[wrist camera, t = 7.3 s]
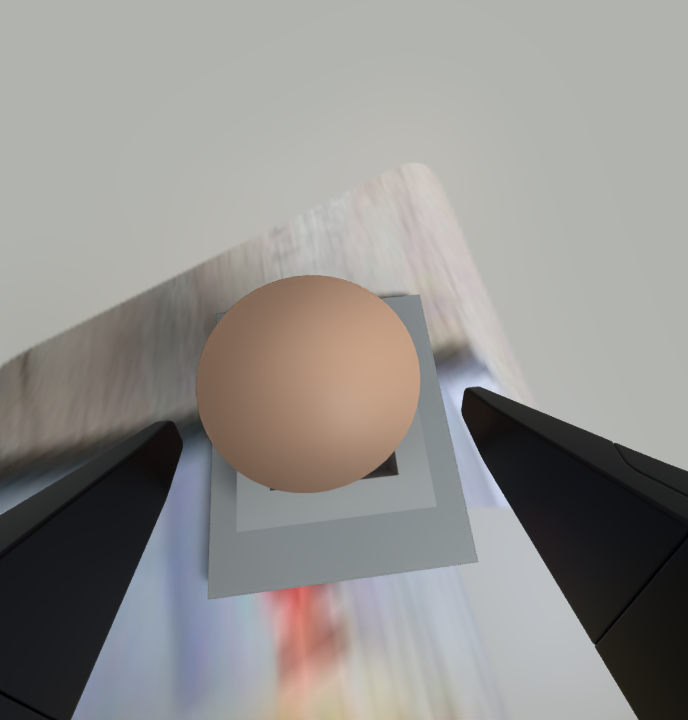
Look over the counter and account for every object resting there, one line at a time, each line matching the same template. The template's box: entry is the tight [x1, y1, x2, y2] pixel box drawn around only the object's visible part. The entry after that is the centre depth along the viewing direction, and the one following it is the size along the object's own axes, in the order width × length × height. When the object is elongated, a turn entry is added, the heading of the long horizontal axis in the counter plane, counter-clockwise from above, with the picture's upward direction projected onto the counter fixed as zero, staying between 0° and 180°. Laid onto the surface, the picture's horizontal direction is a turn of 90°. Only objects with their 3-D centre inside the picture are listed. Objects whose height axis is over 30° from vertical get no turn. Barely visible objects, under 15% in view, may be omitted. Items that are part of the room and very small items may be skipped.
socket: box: [208, 295, 478, 600], centre depth 15 cm, size 16×14×4 cm
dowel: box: [196, 275, 420, 493], centre depth 11 cm, size 4×4×12 cm
